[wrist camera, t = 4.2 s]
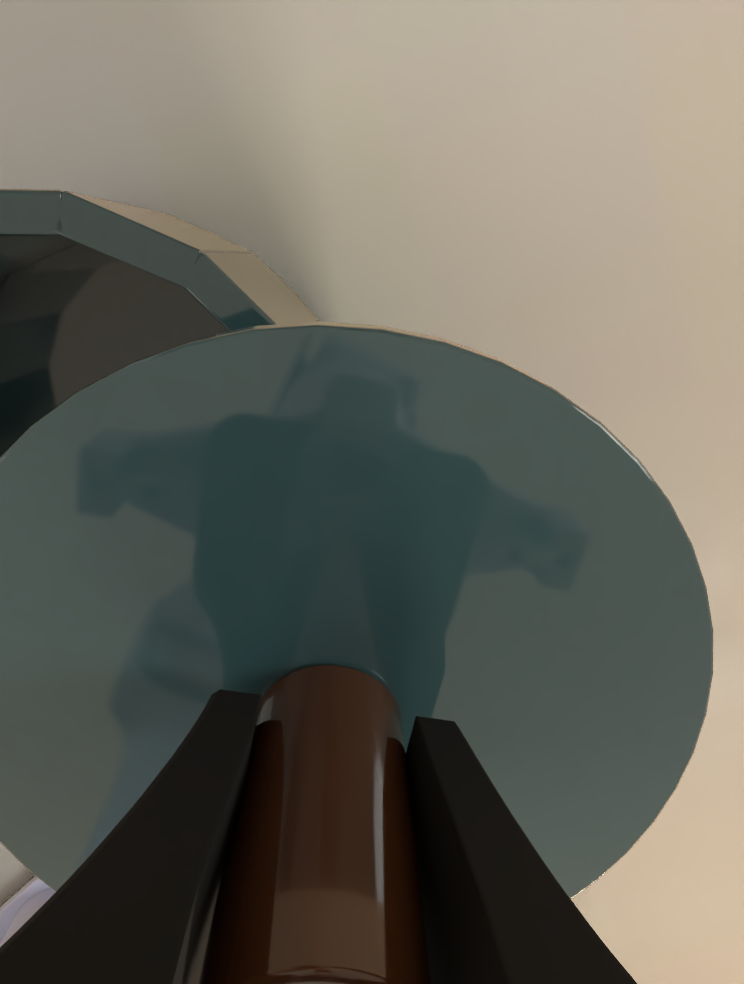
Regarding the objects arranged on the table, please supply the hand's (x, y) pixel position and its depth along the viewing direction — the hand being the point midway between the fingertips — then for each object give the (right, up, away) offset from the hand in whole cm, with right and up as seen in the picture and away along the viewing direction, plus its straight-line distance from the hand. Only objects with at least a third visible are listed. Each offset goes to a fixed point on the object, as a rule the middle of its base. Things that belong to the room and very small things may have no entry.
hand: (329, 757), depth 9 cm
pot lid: (0, 0, +1) cm, 1 cm away
